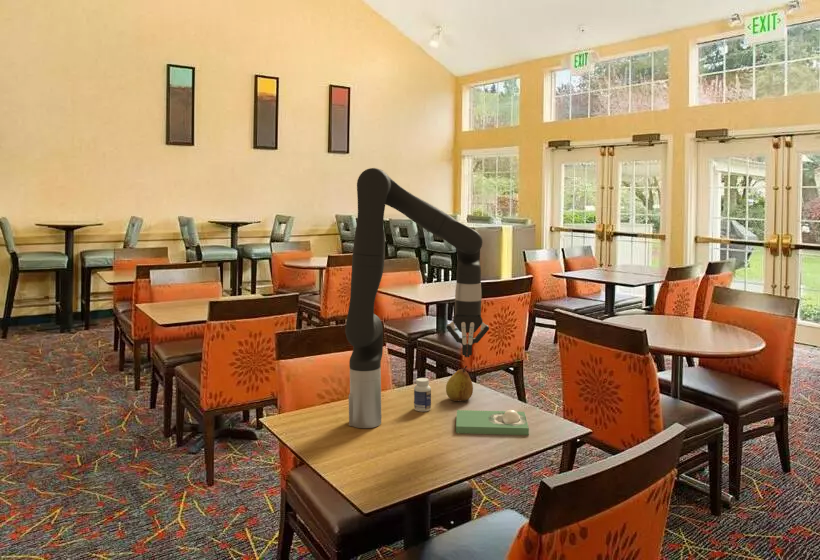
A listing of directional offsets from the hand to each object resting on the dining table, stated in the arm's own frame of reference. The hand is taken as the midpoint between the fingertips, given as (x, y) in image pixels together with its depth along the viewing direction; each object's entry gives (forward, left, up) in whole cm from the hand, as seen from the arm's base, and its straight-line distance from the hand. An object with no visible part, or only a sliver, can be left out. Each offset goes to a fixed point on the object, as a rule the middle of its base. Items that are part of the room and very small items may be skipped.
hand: (467, 356), depth 184 cm
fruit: (-2, +23, -21) cm, 31 cm away
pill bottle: (-14, +13, -21) cm, 28 cm away
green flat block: (+7, 0, -21) cm, 22 cm away
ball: (+13, 0, -18) cm, 22 cm away
